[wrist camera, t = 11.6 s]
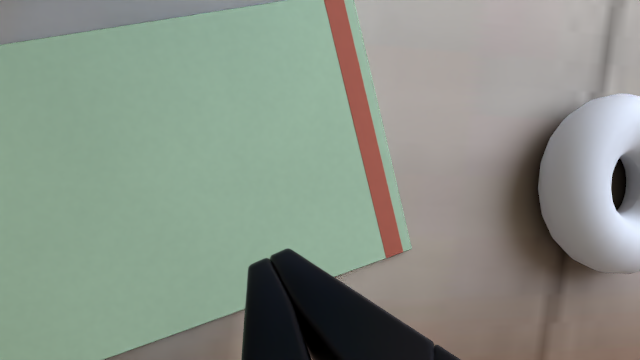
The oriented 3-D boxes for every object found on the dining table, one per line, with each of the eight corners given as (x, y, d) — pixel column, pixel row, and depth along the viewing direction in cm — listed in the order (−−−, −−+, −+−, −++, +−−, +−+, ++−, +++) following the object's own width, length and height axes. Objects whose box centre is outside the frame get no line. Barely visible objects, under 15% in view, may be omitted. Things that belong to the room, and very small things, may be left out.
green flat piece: (410, 248, 21) (412, 249, 21) (-175, 457, 15) (-180, 461, 15) (350, -9, 20) (351, -11, 20) (-325, 97, 13) (-333, 96, 13)
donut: (544, 76, 24) (506, 248, 23) (601, 60, 20) (559, 260, 20) (664, 127, 27) (633, 281, 26) (731, 121, 23) (698, 297, 23)
